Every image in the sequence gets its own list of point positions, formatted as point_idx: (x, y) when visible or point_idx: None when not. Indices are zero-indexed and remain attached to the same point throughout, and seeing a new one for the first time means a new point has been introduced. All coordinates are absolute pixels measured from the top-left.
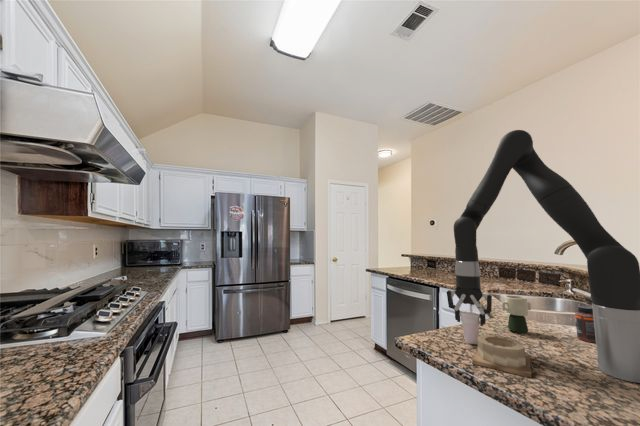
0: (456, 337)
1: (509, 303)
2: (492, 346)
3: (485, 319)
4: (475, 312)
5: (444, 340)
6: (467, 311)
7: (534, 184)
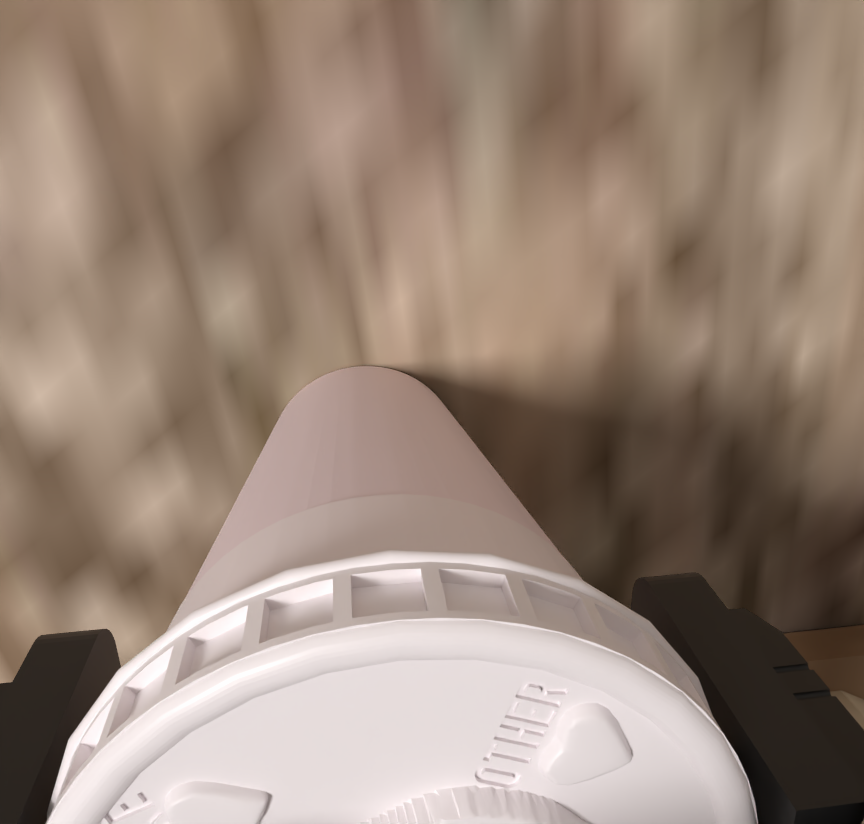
0: (90, 374)
1: None
2: None
3: (820, 697)
4: (600, 757)
5: (3, 647)
6: (270, 741)
7: None
